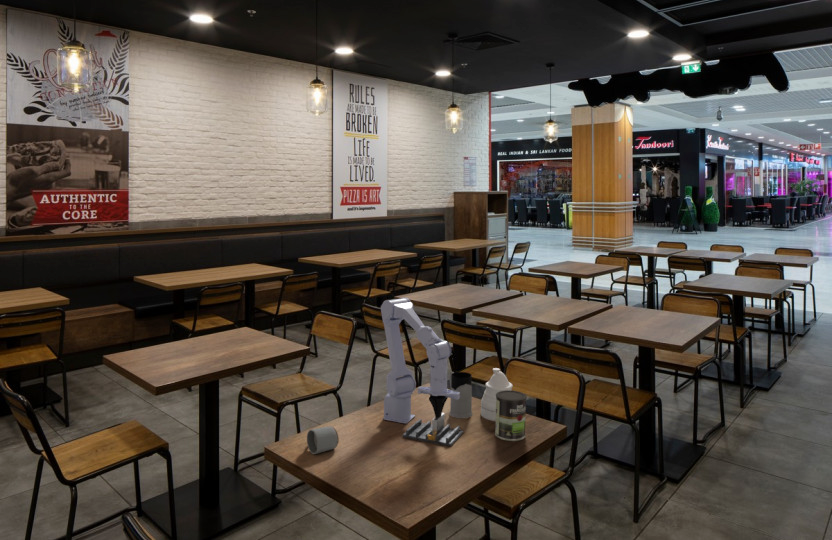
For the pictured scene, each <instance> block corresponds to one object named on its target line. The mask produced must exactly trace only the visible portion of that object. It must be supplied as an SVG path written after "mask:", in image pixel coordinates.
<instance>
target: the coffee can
mask: <svg viewBox="0 0 832 540" xmlns="http://www.w3.org/2000/svg"><path fill="white" fill-rule="evenodd" d="M526 411H527V394H525V393H523V392H522V391H517V390H512V391H510V390H507V391H500V392H497V393H496V421H495V432H494V435H495V437H497V438H498V439H499V440H503V441H507V442H518V441H522V440H524V439H525V438H526V418H527V417H526V414H527V412H526Z"/></svg>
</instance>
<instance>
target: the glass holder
mask: <svg viewBox="0 0 832 540" xmlns="http://www.w3.org/2000/svg"><path fill="white" fill-rule="evenodd" d="M472 376H473V375H472V374H471V373H469V372H466V371H456V372H454V371H452V372H449V385H450V386H449V387H450V390H452V391H455V392H460V398H459V399H458V400H456V399H454V398H450V410H449V416H451V417H453V418H456V419H467V418H470V417H472V416H473V412H472V407H473V406H472V403H473V402H472V400H473V398H472V397H473V396H472V395H473V390H472V389H473V386H472Z"/></svg>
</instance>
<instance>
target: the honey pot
mask: <svg viewBox="0 0 832 540" xmlns="http://www.w3.org/2000/svg"><path fill="white" fill-rule="evenodd" d="M492 372H493V374H492V376H491V377H490V379H489V380H488V381H487V382H485V387H486V388H485V390H484V392H483V395H482V398H481V400H480V415H481V417H482V418H483V419H486V420H489V421H492V422H496V393H497V392H500V391H507V390H510V391H513V389H512V388H513V387H514V386H513V383H511V382H510V381H509V380H508V377H507V376H506V374H505V373H504V372H502V371H501V369H500V368H497V367H495V368H494V367H493V368H492Z"/></svg>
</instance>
